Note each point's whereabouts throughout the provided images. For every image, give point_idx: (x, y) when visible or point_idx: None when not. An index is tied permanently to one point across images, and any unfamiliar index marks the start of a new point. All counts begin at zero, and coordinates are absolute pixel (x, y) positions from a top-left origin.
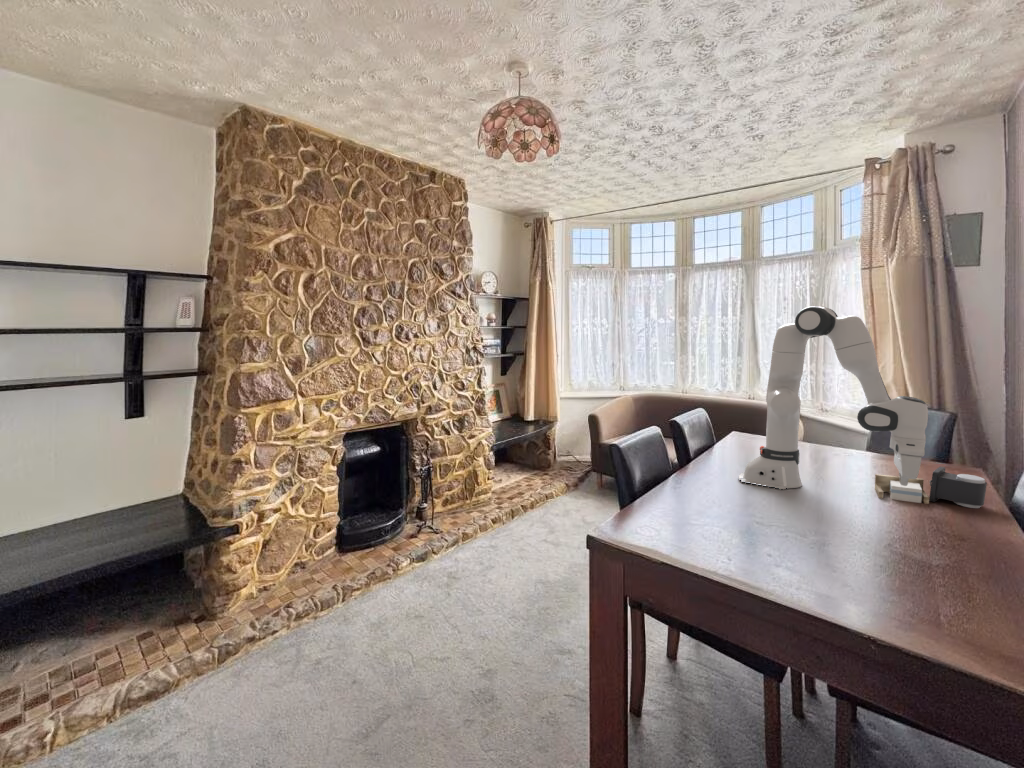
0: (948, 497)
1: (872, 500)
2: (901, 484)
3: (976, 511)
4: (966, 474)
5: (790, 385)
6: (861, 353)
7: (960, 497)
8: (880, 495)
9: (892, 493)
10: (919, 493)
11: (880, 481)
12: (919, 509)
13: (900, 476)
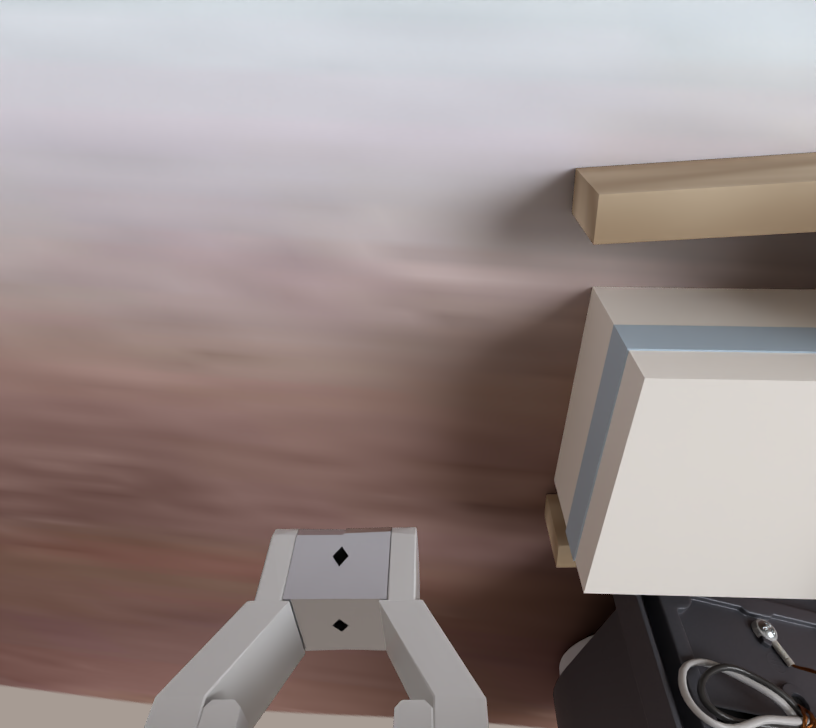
0: (603, 650)
1: (431, 87)
2: (277, 537)
3: (497, 668)
4: None
5: None
6: None
7: (581, 702)
8: (583, 196)
9: (607, 330)
10: (573, 542)
11: None
12: (350, 452)
13: (396, 635)
